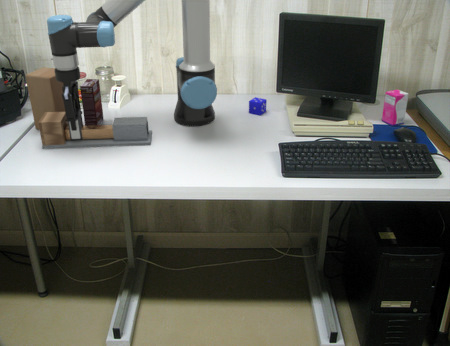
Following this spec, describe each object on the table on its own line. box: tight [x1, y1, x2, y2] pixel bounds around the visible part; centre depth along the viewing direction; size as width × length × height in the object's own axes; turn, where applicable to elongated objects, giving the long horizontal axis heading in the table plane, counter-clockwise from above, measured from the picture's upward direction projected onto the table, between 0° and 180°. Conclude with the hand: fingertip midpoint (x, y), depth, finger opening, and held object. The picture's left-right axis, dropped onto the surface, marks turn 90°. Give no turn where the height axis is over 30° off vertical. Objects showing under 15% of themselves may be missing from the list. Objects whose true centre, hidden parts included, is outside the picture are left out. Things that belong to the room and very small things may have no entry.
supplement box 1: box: [79, 78, 105, 126], centre depth 177 cm, size 9×5×16 cm, turn 178°
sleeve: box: [111, 116, 150, 141], centre depth 168 cm, size 11×7×6 cm, turn 94°
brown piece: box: [64, 107, 114, 140], centre depth 166 cm, size 22×4×10 cm, turn 94°
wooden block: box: [25, 66, 65, 130], centre depth 175 cm, size 10×10×20 cm
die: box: [248, 97, 267, 116], centre depth 190 cm, size 5×5×5 cm
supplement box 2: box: [381, 89, 409, 127], centre depth 180 cm, size 6×6×12 cm
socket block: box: [38, 112, 68, 146], centre depth 166 cm, size 7×9×8 cm
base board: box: [41, 129, 153, 150], centre depth 169 cm, size 35×10×1 cm, turn 94°
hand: (77, 135), depth 167 cm, fingers closed on brown piece, 3 cm apart
